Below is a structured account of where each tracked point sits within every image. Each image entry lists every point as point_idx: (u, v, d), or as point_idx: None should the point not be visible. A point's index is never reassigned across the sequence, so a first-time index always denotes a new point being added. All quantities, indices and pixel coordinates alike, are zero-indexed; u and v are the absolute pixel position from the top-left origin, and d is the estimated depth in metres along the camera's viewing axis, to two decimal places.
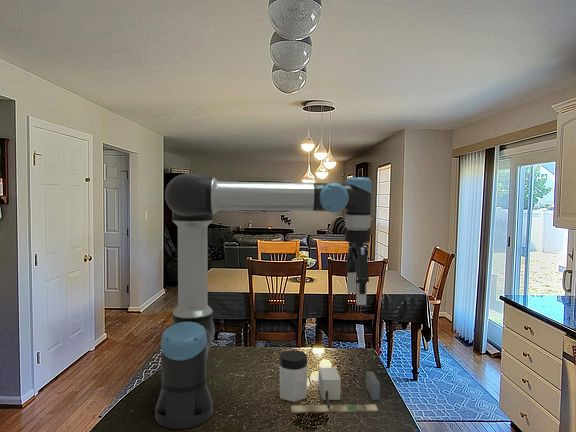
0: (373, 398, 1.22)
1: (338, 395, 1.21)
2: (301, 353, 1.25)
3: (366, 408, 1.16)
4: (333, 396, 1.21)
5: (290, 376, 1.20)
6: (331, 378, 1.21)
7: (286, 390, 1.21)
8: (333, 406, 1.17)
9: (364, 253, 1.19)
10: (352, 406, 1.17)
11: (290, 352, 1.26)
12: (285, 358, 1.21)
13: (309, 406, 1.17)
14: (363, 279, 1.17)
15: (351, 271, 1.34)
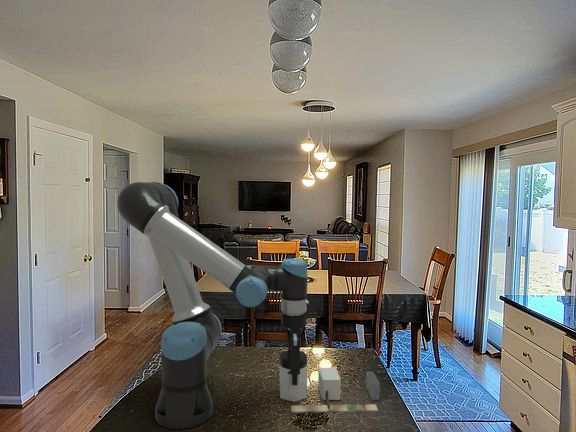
0: (373, 398, 1.22)
1: (338, 395, 1.21)
2: (301, 353, 1.25)
3: (366, 408, 1.16)
4: (333, 396, 1.21)
5: None
6: (331, 378, 1.21)
7: (286, 390, 1.21)
8: (333, 406, 1.17)
9: (297, 344, 1.17)
10: (352, 406, 1.17)
11: None
12: (285, 358, 1.21)
13: (309, 406, 1.17)
14: (294, 372, 1.16)
15: None
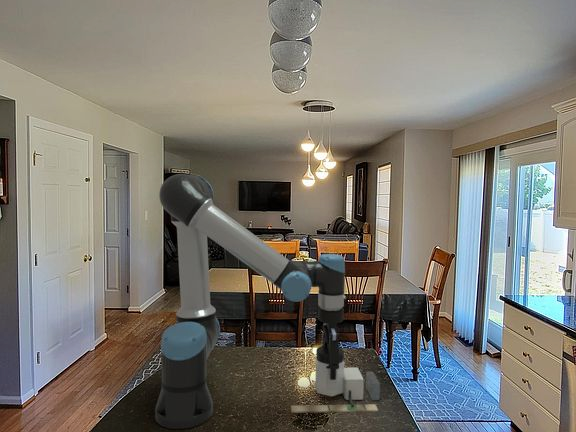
0: (373, 398, 1.22)
1: (361, 395, 1.21)
2: None
3: (366, 408, 1.16)
4: (356, 396, 1.21)
5: None
6: (354, 378, 1.22)
7: (324, 385, 1.21)
8: (333, 406, 1.17)
9: (335, 338, 1.17)
10: None
11: (326, 347, 1.26)
12: (322, 353, 1.22)
13: (309, 406, 1.17)
14: (333, 367, 1.16)
15: None
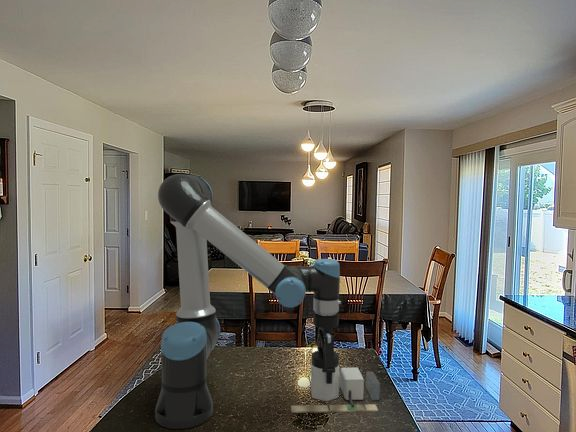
0: (373, 398, 1.22)
1: (361, 395, 1.21)
2: None
3: (366, 408, 1.16)
4: (356, 396, 1.21)
5: (323, 375, 1.20)
6: (354, 378, 1.22)
7: (319, 389, 1.21)
8: (333, 406, 1.17)
9: (330, 341, 1.17)
10: None
11: (321, 352, 1.26)
12: (317, 358, 1.22)
13: (309, 406, 1.17)
14: (329, 370, 1.14)
15: None
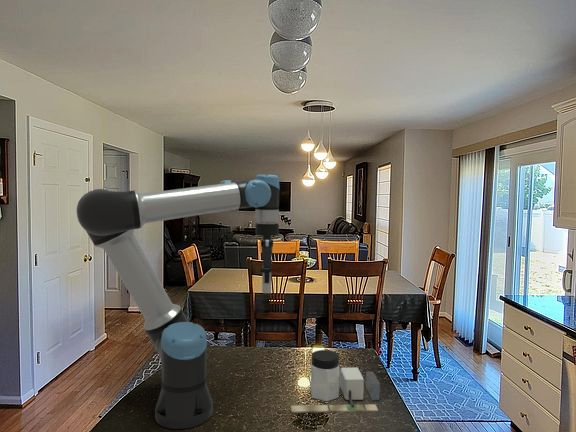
0: (373, 398, 1.22)
1: (361, 395, 1.21)
2: (332, 353, 1.26)
3: (366, 408, 1.16)
4: (356, 396, 1.21)
5: (323, 375, 1.20)
6: (354, 378, 1.22)
7: (319, 389, 1.21)
8: (333, 406, 1.17)
9: (268, 244, 1.29)
10: None
11: (321, 352, 1.26)
12: (317, 358, 1.22)
13: (309, 406, 1.17)
14: (265, 269, 1.26)
15: None
